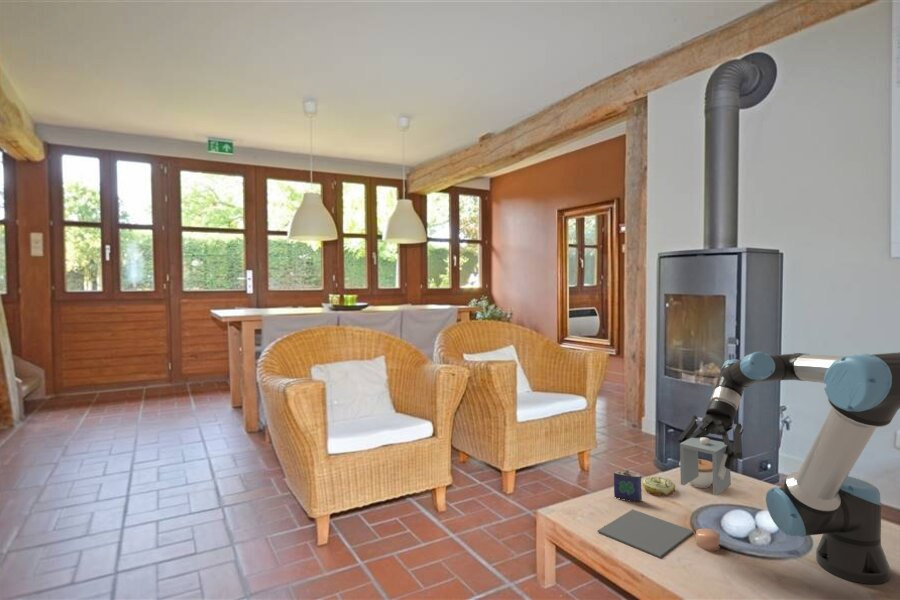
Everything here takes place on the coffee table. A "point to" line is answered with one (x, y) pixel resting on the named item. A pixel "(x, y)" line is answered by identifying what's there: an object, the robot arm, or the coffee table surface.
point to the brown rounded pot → (708, 539)
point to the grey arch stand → (691, 461)
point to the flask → (627, 486)
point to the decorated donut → (659, 486)
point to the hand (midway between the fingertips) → (700, 472)
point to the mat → (646, 533)
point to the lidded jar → (704, 474)
